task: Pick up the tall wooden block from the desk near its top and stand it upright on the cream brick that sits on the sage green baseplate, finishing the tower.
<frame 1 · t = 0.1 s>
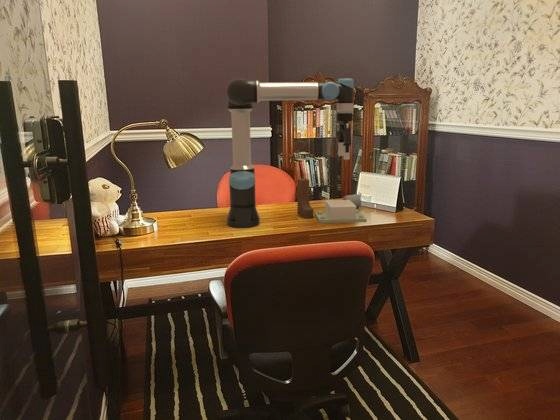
hand: (343, 157, 215), 28 cm above the table, tool pointing down, fingers open, 13 cm apart
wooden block: (305, 216, 217), on the table
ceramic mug: (352, 210, 230), on the table
tower base: (340, 218, 213), on the table
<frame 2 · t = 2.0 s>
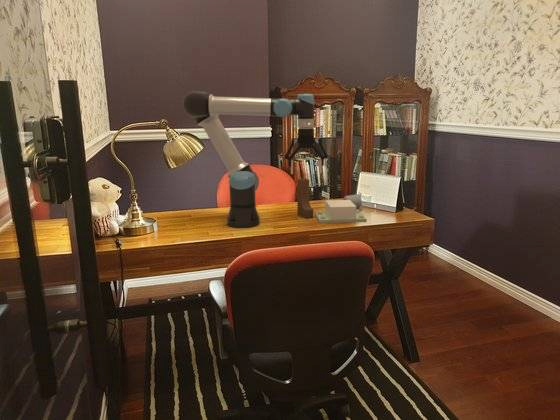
hand: (306, 173, 212), 21 cm above the table, tool pointing down, fingers open, 13 cm apart
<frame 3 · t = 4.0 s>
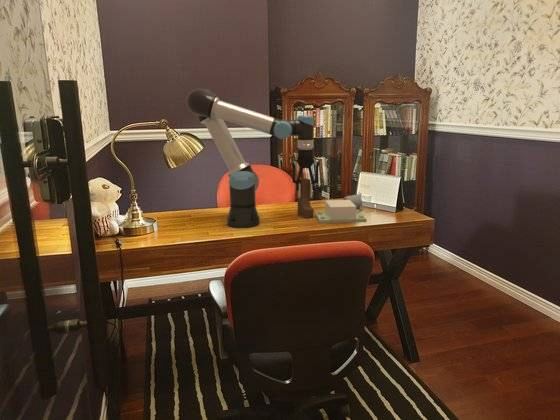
hand: (305, 196, 215), 10 cm above the table, tool pointing down, fingers closed on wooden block, 5 cm apart
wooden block: (305, 216, 217), on the table, touching gripper
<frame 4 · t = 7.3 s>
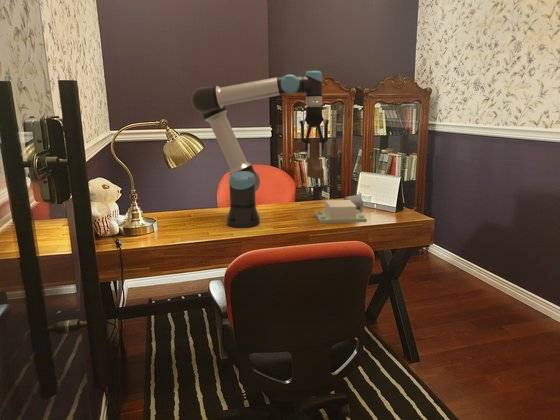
hand: (314, 156, 209), 29 cm above the table, tool pointing down, fingers closed on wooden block, 5 cm apart
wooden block: (315, 177, 212), point 19 cm above the table, touching gripper
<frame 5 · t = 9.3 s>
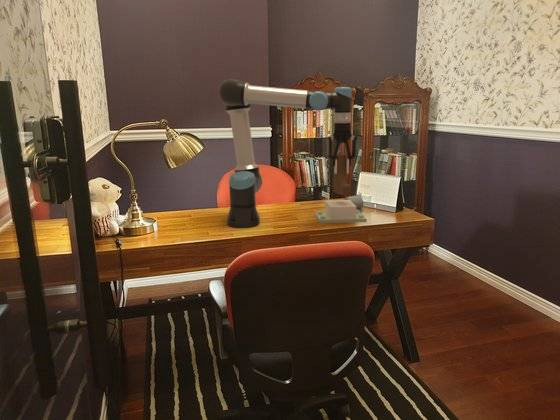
hand: (341, 173, 207), 22 cm above the table, tool pointing down, fingers closed on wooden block, 5 cm apart
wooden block: (341, 193, 210), point 12 cm above the table, touching gripper
when the fingers open (19 cm above the table, at t = 10.6 s): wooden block drops 1 cm, resting on tower base.
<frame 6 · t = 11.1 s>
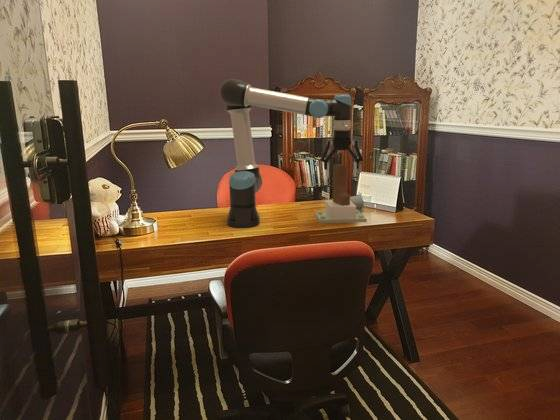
hand: (341, 176, 208), 20 cm above the table, tool pointing down, fingers open, 12 cm apart
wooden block: (341, 203, 211), point 7 cm above the table, touching tower base
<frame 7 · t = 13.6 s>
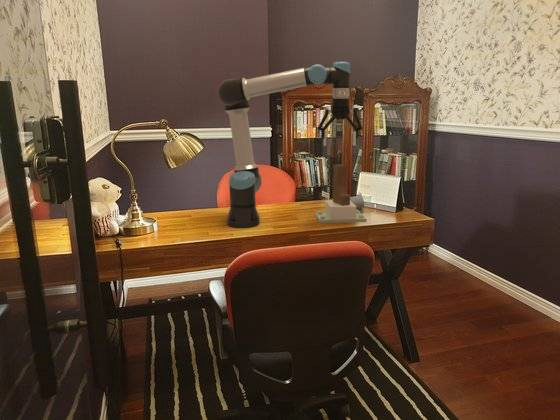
hand: (339, 145, 205), 35 cm above the table, tool pointing down, fingers open, 13 cm apart
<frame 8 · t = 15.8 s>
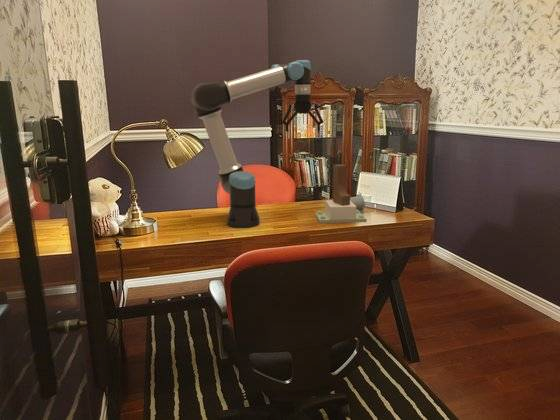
hand: (302, 138, 220), 37 cm above the table, tool pointing down, fingers open, 13 cm apart
at the end: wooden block 0.4 cm off-centre on the tower base, point 7.3 cm above the tower base's base; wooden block tilted 0°; the gripper is holding nothing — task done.
